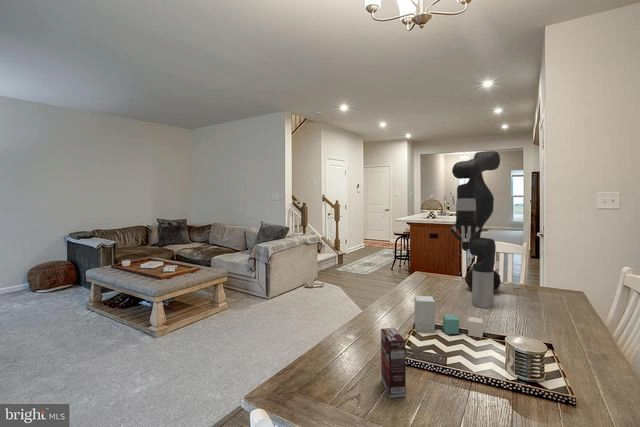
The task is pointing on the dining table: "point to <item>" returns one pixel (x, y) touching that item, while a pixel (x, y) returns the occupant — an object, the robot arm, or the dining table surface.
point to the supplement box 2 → (424, 314)
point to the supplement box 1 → (393, 362)
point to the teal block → (450, 324)
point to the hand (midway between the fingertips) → (465, 250)
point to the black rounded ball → (470, 276)
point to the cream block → (475, 326)
